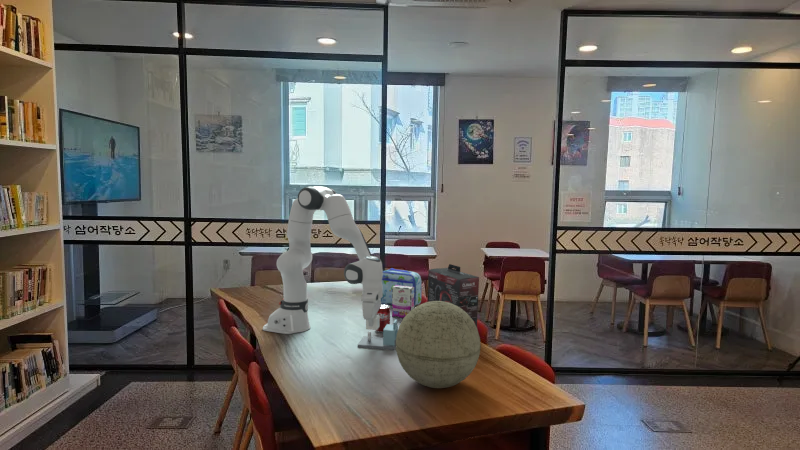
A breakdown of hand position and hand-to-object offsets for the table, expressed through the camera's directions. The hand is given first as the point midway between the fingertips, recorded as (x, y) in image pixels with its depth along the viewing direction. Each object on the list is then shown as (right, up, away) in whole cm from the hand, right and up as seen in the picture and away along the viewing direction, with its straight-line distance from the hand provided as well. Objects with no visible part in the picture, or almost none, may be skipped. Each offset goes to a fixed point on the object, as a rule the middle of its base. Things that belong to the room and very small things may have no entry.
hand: (372, 323), depth 204 cm
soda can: (+4, -8, +19) cm, 21 cm away
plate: (+3, -9, 0) cm, 10 cm away
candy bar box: (+14, -6, +43) cm, 45 cm away
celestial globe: (+25, -14, -39) cm, 48 cm away
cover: (+8, -8, -1) cm, 11 cm away
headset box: (+37, -9, +17) cm, 41 cm away
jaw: (0, -2, 0) cm, 2 cm away
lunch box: (+12, -3, +67) cm, 68 cm away
